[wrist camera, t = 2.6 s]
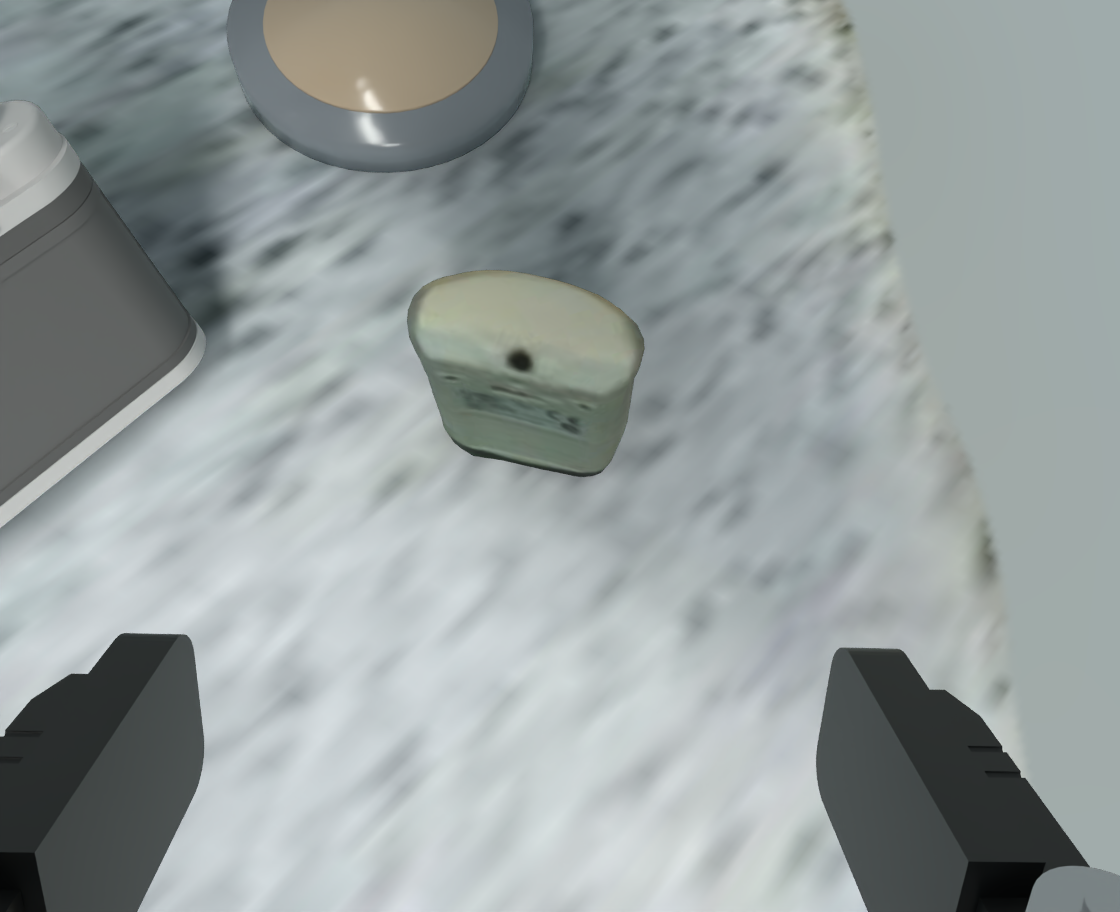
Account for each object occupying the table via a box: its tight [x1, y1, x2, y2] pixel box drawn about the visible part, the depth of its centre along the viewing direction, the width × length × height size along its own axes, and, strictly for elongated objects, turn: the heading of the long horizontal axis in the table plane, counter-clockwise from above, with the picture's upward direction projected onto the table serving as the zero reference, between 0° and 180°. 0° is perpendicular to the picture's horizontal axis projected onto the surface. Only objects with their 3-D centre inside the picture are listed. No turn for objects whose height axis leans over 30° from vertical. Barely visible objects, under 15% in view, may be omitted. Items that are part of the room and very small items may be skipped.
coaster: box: [227, 0, 533, 173], centre depth 34 cm, size 11×11×2 cm
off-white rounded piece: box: [407, 270, 644, 477], centre depth 26 cm, size 6×5×8 cm
